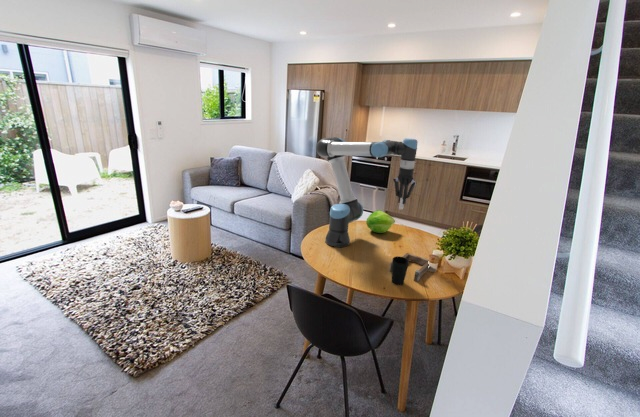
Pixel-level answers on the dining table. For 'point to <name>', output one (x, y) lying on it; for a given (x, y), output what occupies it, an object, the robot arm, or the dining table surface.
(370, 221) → the lettuce
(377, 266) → the dining table surface
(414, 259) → the grey u-shaped frame
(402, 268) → the cup
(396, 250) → the dining table surface
